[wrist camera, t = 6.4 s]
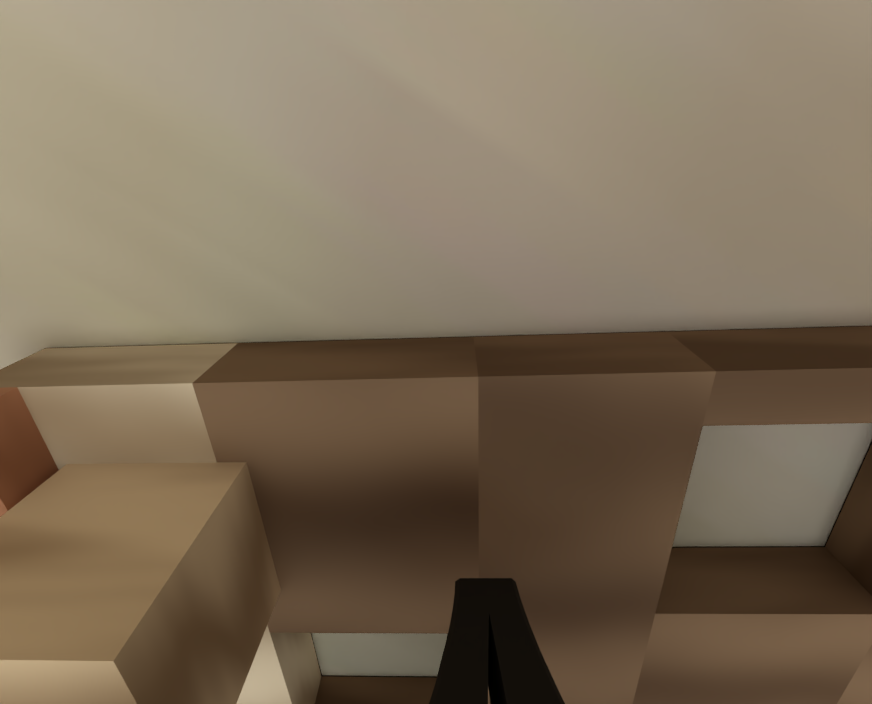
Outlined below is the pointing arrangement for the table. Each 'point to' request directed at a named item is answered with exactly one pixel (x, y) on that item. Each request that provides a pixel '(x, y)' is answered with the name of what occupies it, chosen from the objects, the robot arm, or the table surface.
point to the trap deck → (495, 496)
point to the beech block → (134, 585)
